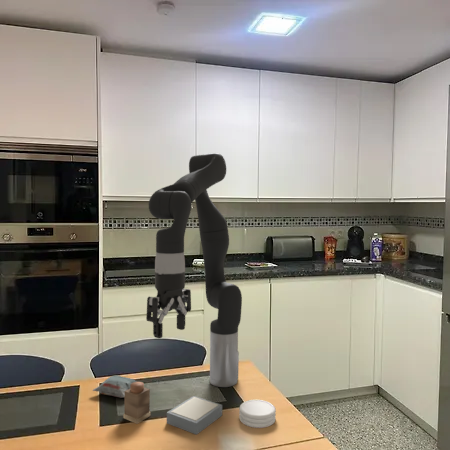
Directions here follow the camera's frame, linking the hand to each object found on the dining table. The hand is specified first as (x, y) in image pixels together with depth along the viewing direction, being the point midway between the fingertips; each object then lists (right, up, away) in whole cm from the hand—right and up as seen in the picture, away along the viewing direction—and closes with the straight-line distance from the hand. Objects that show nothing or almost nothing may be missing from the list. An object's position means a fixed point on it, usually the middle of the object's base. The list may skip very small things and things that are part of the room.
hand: (169, 333), depth 108 cm
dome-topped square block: (-10, -26, +9) cm, 29 cm away
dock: (+6, -26, +8) cm, 28 cm away
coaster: (+23, -26, +9) cm, 36 cm away
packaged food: (-19, -25, +23) cm, 39 cm away
